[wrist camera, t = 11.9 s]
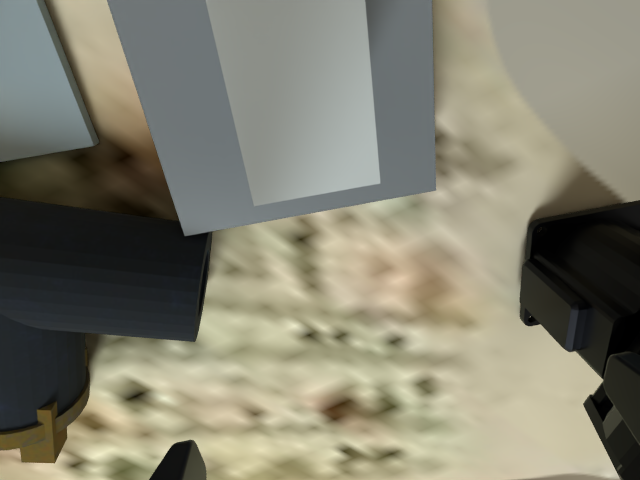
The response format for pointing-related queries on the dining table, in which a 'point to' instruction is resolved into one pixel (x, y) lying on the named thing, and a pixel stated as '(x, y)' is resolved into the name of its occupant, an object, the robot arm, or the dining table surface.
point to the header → (218, 124)
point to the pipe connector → (82, 306)
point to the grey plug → (299, 94)
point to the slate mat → (37, 87)
